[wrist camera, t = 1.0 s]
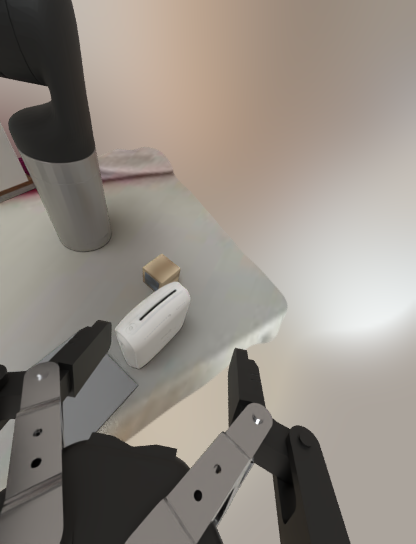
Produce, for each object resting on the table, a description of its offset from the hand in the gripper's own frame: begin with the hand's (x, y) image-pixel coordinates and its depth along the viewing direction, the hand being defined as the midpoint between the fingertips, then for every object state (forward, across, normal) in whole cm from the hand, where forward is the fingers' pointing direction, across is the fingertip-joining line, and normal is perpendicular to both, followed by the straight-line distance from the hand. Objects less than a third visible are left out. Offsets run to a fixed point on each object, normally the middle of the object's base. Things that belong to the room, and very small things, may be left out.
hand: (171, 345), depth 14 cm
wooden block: (+26, +7, +9) cm, 28 cm away
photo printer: (+16, +5, +15) cm, 22 cm away
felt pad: (+9, +13, +18) cm, 24 cm away
